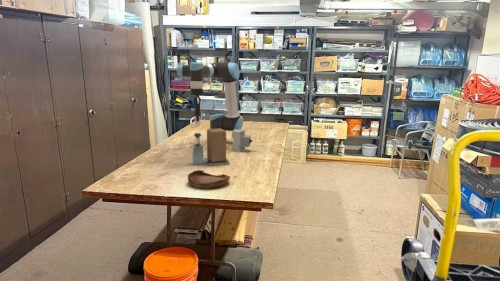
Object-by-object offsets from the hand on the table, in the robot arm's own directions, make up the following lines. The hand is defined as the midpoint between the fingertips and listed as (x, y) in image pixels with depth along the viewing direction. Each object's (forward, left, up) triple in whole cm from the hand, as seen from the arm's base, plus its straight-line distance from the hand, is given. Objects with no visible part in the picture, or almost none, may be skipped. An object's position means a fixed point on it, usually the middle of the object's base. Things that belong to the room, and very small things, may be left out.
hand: (197, 126), depth 212 cm
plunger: (0, 0, -14) cm, 14 cm away
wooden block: (0, +12, -23) cm, 26 cm away
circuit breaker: (-26, +36, -25) cm, 51 cm away
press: (0, +8, -24) cm, 26 cm away
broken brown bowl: (+38, +1, -25) cm, 45 cm away
